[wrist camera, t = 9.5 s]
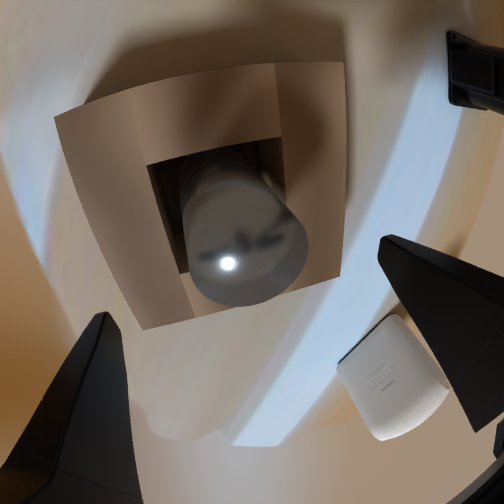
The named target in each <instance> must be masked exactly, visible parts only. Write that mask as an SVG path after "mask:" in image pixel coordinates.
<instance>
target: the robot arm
mask: <svg viewBox="0 0 504 504" xmlns="http://www.w3.org/2000/svg"><path fill="white" fill-rule="evenodd" d="M447 42H448V57H449V102H450V103H451V104H452V105H455V106H462V107H468V108H474V109H480V110H485V111H487V110H488V109H489V110H492V111H494V112H497V113H499V114H502V115H504V48H499V47H494V46H489V45H483V44H480V43H478V42H476V41H474V40H472V39H470V38H468V37H466V36H464V35H462V34H459V33H457V32H455V31H448V32H447ZM378 262H379V264H380V266H381V268H382V269H383V271H384V273H385V275H386V277H387V278H388V280H389V282H390V284H391V286H392V287H393V289H394V291H395V293H396V295H397V296H398V298H399V300H400V301H401V303H402V304H403V306H404V307H405V309H406V310H407V312H408V313H409V315H410V316H411V318H412V320H413V321H414V323H415V324H416V326H417V327H418V329H419V331H420V332H421V334H422V336H423V337H424V339H425V340H426V342H427V344H428V345H429V347H430V349H431V350H432V352H433V354H434V356H435V357H436V359H437V361H438V362H439V364H440V366H441V368H442V369H443V371H444V373H445V375H446V377H447V379H448V380H449V382H450V384H451V386H452V387H453V390H454V392H455V394H456V396H457V398H458V399H459V402H460V403H461V405H462V407H463V409H464V412H465V414H466V416H467V418H468V420H469V422H470V424H471V426H472V428H473V430H474V432H475V433H476V432H478V431H479V430H480V429H482V428H483V427H485V426H486V425H487V424H489V423H490V422H491V421H492V420H494V419H495V418H496V417H497V416H499V415H500V414H501V413H503V412H504V277H501V276H499V275H497V274H494V273H492V272H489V271H487V270H484V269H482V268H480V267H479V268H478V267H477V266H475V265H472V264H470V263H467V262H465V261H462V260H460V259H457V258H455V257H452V256H450V255H447V254H445V253H442V252H439V251H437V250H434V249H432V248H429V247H426V246H423V245H421V244H418V243H415V242H413V241H410V240H407V239H404V238H401V237H398V236H396V235H393V234H390V235H386V236H383V237H382V238H381V239H380V244H379V250H378ZM42 399H43V400H41V401H40V403H39V405H38V407H37V409H36V410H35V412H34V414H33V416H32V418H31V419H30V421H29V423H28V425H27V426H26V428H25V430H24V431H23V433H22V435H21V437H20V438H19V439H18V441H17V443H16V444H15V446H14V448H13V449H12V452H11V453H10V455H9V456H8V458H7V460H6V461H5V463H4V464H3V465H2V467H1V468H0V504H144V503H143V499H142V495H141V490H140V485H139V479H138V474H137V468H136V462H135V455H134V448H133V441H132V431H131V423H130V412H129V398H128V383H127V373H126V366H125V360H124V352H123V344H122V336H121V332H120V329H119V327H118V326H117V324H116V323H115V321H114V319H113V318H112V316H111V315H110V313H109V312H106V311H105V312H101V313H97V314H95V315H94V317H93V318H92V320H91V321H90V323H89V324H88V326H87V327H86V328H85V330H84V331H83V333H82V334H81V336H80V337H79V339H78V341H77V342H76V344H75V345H74V347H73V348H72V350H71V351H70V353H69V355H68V356H67V358H66V359H65V361H64V362H63V364H62V366H61V367H60V369H59V371H58V372H57V374H56V376H55V377H54V379H53V381H52V383H51V384H50V386H49V388H48V389H47V391H46V393H45V394H44V396H43V398H42ZM493 453H494V455H495V457H496V459H497V460H496V461H495V462H494V463H493V464H492V465H491V466H490V467H489V468H488V469H487V470H486V471H485V472H484V473H482V474H481V475H480V476H479V477H478V478H477V479H476V480H475V481H474V482H472V483H471V484H470V485H469V486H468V487H467V488H466V489H464V490H463V491H462V492H461V493H459V494H458V495H457V496H456V497H454V498H453V499H452V500H451V501H449V502H448V503H447V504H504V418H503V419H502V420H501V421H500V422H499V423H498V424H497V429H496V437H495V443H494V450H493Z"/></svg>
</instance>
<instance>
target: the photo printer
mask: <svg viewBox="0 0 504 504" xmlns="http://www.w3.org/2000/svg"><path fill="white" fill-rule="evenodd" d="M336 370H337V372H338V374H339V376H340V378H341V380H342V381H343V383H344V385H345V387H346V389H347V390H348V392H349V394H350V396H351V398H352V400H353V401H354V403H355V405H356V407H357V409H358V410H359V412H360V414H361V416H362V418H363V419H364V421H365V423H366V425H367V426H368V428H369V430H370V432H371V433H372V434H373V435H374V436H375V437H376V438H377V439H378V440H380V441H384V440H387V439H391V438H394V437H397V436H400V435H402V434H404V433H406V432H408V431H410V430H412V429H413V428H415V427H417V426H418V425H420V424H421V423H422V422H423V421H425V420H426V419H427V418H428V417H429V416H430V415H431V414H432V413H433V412H434V411H435V410H436V409H437V408H438V407H439V405H440V404H441V403H442V402H443V400H444V399H445V397H446V396H447V394H448V392H449V390H450V386H449V384H448V382H447V381H446V377H445V375H444V373H443V372H442V370H441V369H440V367H439V366H438V364H437V363H436V362H435V361H434V359H433V358H432V357H431V355H430V354H429V353H428V351H427V350H426V349H425V347H424V346H423V345H422V344H421V342H420V341H419V340H418V339H417V337H416V336H415V335H414V333H413V332H412V331H411V330H410V328H409V327H408V326H407V325H406V323H405V322H404V321H403V320H402V319H401V317H400V316H399V315H397V314H391V315H389V316H388V317H387V318H385V319H384V320H383V321H382V322H381V323H380V324H379V325H378V326H377V327H376V328H375V329H374V330H373V331H372V332H371V333H370V334H369V335H368V336H367V337H366V338H365V339H364V340H363V341H362V342H361V343H360V344H359V345H358V346H357V347H356V348H355V349H354V350H353V351H352V352H351V353H350V354H349V355H348V356H347V357H346V358H345V359H344V360H343V361H342V362H341V363H340V364H339V365H338V366H337V367H336Z"/></svg>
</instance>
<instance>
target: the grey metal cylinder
mask: <svg viewBox="0 0 504 504" xmlns="http://www.w3.org/2000/svg"><path fill="white" fill-rule="evenodd" d="M178 187H179V196H180V205H181V213H182V221H183V229H184V236H185V244H186V251H187V257H188V264H189V271H190V275H191V278H192V281H193V283H194V285H195V286H196V288H197V289H198V290H199V291H200V292H201V293H202V294H203V295H204V296H205V297H207V298H208V299H210V300H211V301H214V302H216V303H219V304H222V305H226V306H234V307H242V306H251V305H255V304H259V303H262V302H265V301H267V300H270V299H272V298H273V297H275V296H277V295H279V294H280V293H282V292H283V291H284V290H286V289H287V288H288V287H289V286H290V285H291V284H292V283H293V282H294V281H295V280H296V278H297V277H298V276H299V274H300V273H301V271H302V269H303V267H304V265H305V263H306V260H307V256H308V249H309V244H308V237H307V233H306V231H305V228H304V227H303V225H302V223H301V222H300V221H299V220H298V218H297V217H296V216H295V215H294V214H293V213H292V211H291V210H290V209H289V208H288V207H287V206H286V205H285V203H284V202H283V201H282V200H281V199H280V198H279V197H278V195H277V194H276V193H275V192H274V191H273V190H272V189H271V188H270V186H269V185H268V184H267V183H266V182H265V181H264V180H263V179H262V178H261V176H260V175H259V174H258V173H257V172H256V171H255V170H254V169H253V168H252V167H251V165H250V164H249V163H248V162H247V161H246V160H245V159H244V158H243V157H242V156H241V155H240V154H239V153H238V152H237V151H236V150H234V149H233V148H231V147H228V146H224V147H219V148H214V149H210V150H205V151H201V152H196V153H192V154H189V155H188V156H187V157H186V159H185V160H184V161H183V163H182V165H181V167H180V170H179V173H178Z"/></svg>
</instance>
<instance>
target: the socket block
mask: <svg viewBox="0 0 504 504" xmlns="http://www.w3.org/2000/svg"><path fill="white" fill-rule="evenodd" d="M54 120H55V124H56V128H57V131H58V135H59V138H60V142H61V145H62V149H63V152H64V155H65V159H66V162H67V165H68V168H69V171H70V174H71V177H72V180H73V183H74V185H75V188H76V191H77V194H78V196H79V199H80V202H81V204H82V207H83V209H84V212H85V214H86V217H87V219H88V222H89V224H90V226H91V229H92V231H93V234H94V236H95V238H96V240H97V243H98V245H99V247H100V249H101V251H102V254H103V256H104V258H105V260H106V262H107V264H108V266H109V268H110V270H111V272H112V274H113V276H114V278H115V280H116V282H117V284H118V286H119V288H120V290H121V292H122V294H123V296H124V298H125V300H126V301H127V303H128V305H129V307H130V309H131V311H132V312H133V314H134V316H135V318H136V319H137V321H138V323H139V325H140V326H141V328H142V330H146V329H151V328H155V327H159V326H164V325H168V324H172V323H176V322H180V321H184V320H188V319H192V318H196V317H200V316H204V315H208V314H212V313H216V312H220V311H223V310H227V309H231V308H235V307H234V306H226V305H222V304H219V303H216V302H214V301H211V300H210V299H208V298H207V297H205V296H204V295H203V294H202V293H201V292H200V291H199V290H198V289H197V288H196V286H195V285H194V283H193V281H192V278H191V275H190V271H189V264H188V257H187V251H186V244H185V236H184V232H180V233H176V232H175V229H174V226H173V222H172V219H171V215H170V212H169V208H168V205H167V201H166V198H165V194H164V190H163V187H162V183H161V179H160V175H159V172H158V168H157V164H156V163H157V162H160V161H164V160H168V159H172V158H176V157H180V156H184V155H188V154H192V153H196V152H201V151H205V150H210V149H214V148H219V147H224V146H229V145H234V144H239V143H245V142H250V141H256V140H257V143H258V152H259V160H260V169H261V178H262V179H263V180H264V181H265V182H266V183H267V184H268V185H269V186H270V188H271V189H272V190H273V191H274V192H275V193H276V194H277V195H278V197H279V198H280V199H281V200H282V201H283V202H284V203H285V205H286V206H287V207H288V208H289V209H290V210H291V211H292V213H293V214H294V215H295V216H296V217H297V218H298V220H299V221H300V222H301V223H302V225H303V227H304V228H305V231H306V233H307V237H308V244H309V249H308V256H307V260H306V263H305V265H304V267H303V269H302V271H301V273H300V274H299V276H298V277H297V278H296V280H295V281H294V282H293V283H292V284H291V285H290V286H289V287H288V288H287V289H286V290H284V291H283V292H282V293H280V294H279V295H281V294H284V293H288V292H291V291H294V290H298V289H301V288H304V287H307V286H311V285H314V284H317V283H320V282H324V281H327V280H330V279H333V278H336V277H339V276H340V269H341V259H342V247H343V234H344V219H345V200H346V168H347V125H346V94H345V76H344V62H329V61H300V62H276V63H262V64H251V65H242V66H234V67H226V68H219V69H213V70H207V71H201V72H196V73H190V74H185V75H181V76H176V77H172V78H167V79H163V80H159V81H155V82H151V83H148V84H144V85H140V86H137V87H133V88H130V89H127V90H124V91H120V92H117V93H114V94H111V95H108V96H105V97H103V98H100V99H97V100H94V101H92V102H89V103H86V104H84V105H81V106H79V107H76V108H74V109H71V110H69V111H67V112H64V113H62V114H60V115H58V116H55V117H54Z"/></svg>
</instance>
